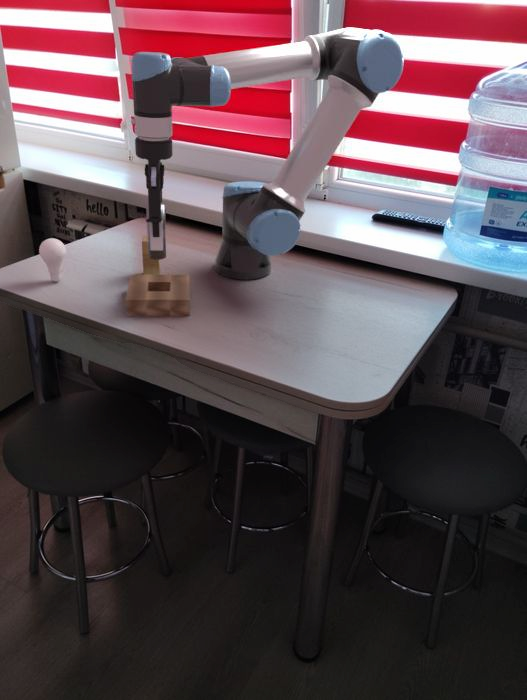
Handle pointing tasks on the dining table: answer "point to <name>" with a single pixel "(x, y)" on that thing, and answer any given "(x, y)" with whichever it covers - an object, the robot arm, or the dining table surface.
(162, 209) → the cylinder
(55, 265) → the lightbulb
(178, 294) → the socket block
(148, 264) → the square bit
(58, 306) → the dining table surface
